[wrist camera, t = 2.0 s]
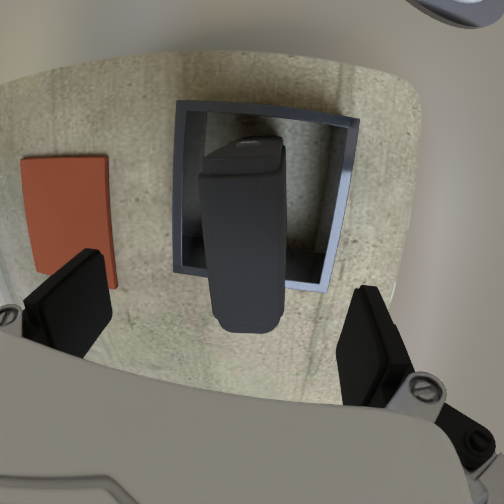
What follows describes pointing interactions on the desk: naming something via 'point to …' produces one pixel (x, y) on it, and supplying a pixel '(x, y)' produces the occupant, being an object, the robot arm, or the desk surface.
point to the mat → (68, 210)
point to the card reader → (245, 232)
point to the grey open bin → (188, 204)
